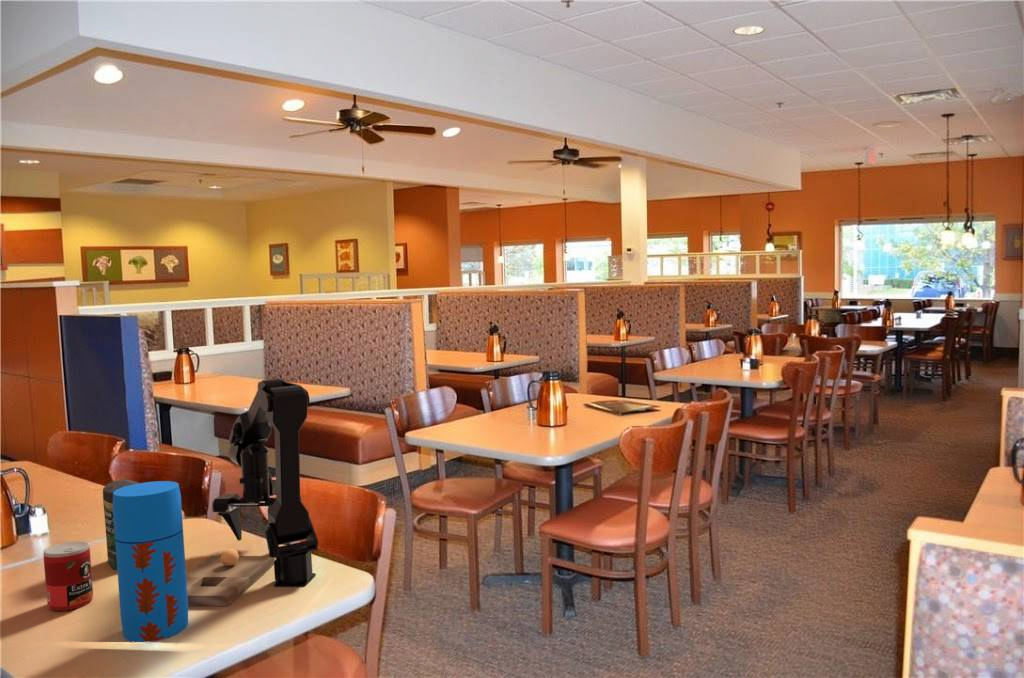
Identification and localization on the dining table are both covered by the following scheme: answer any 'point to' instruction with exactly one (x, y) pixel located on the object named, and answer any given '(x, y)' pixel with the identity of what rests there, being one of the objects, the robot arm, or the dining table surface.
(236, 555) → the ball
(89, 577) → the canned food
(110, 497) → the coffee jar
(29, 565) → the dining table surface
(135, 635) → the thermos
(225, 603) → the board
